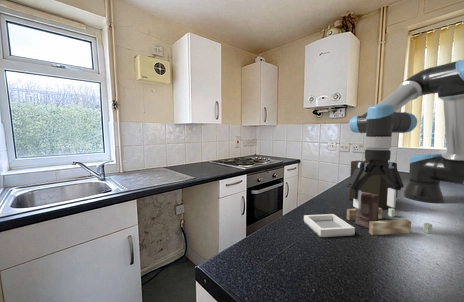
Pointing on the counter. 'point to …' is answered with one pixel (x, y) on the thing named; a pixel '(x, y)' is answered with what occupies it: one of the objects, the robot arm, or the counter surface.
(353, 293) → the counter surface
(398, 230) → the channel
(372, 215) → the box
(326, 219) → the tray
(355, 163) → the bottle
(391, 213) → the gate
